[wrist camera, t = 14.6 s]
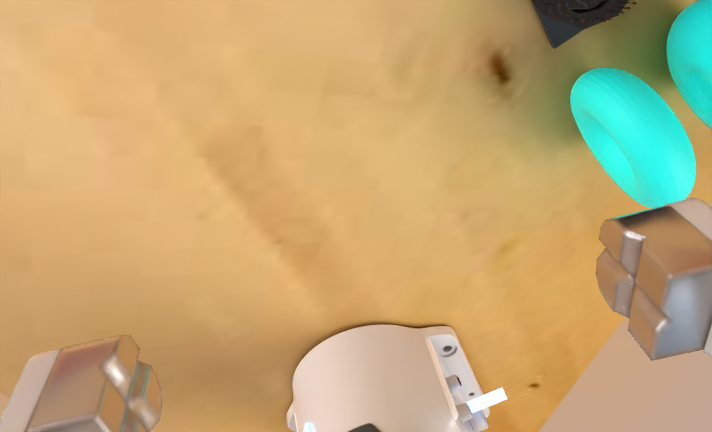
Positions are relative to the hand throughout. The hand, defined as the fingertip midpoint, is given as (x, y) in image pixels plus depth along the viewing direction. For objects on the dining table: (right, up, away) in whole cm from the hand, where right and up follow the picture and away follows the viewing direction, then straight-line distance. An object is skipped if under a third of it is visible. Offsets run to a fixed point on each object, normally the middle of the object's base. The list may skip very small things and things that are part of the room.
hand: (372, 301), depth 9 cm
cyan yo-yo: (+19, +11, +28) cm, 36 cm away
